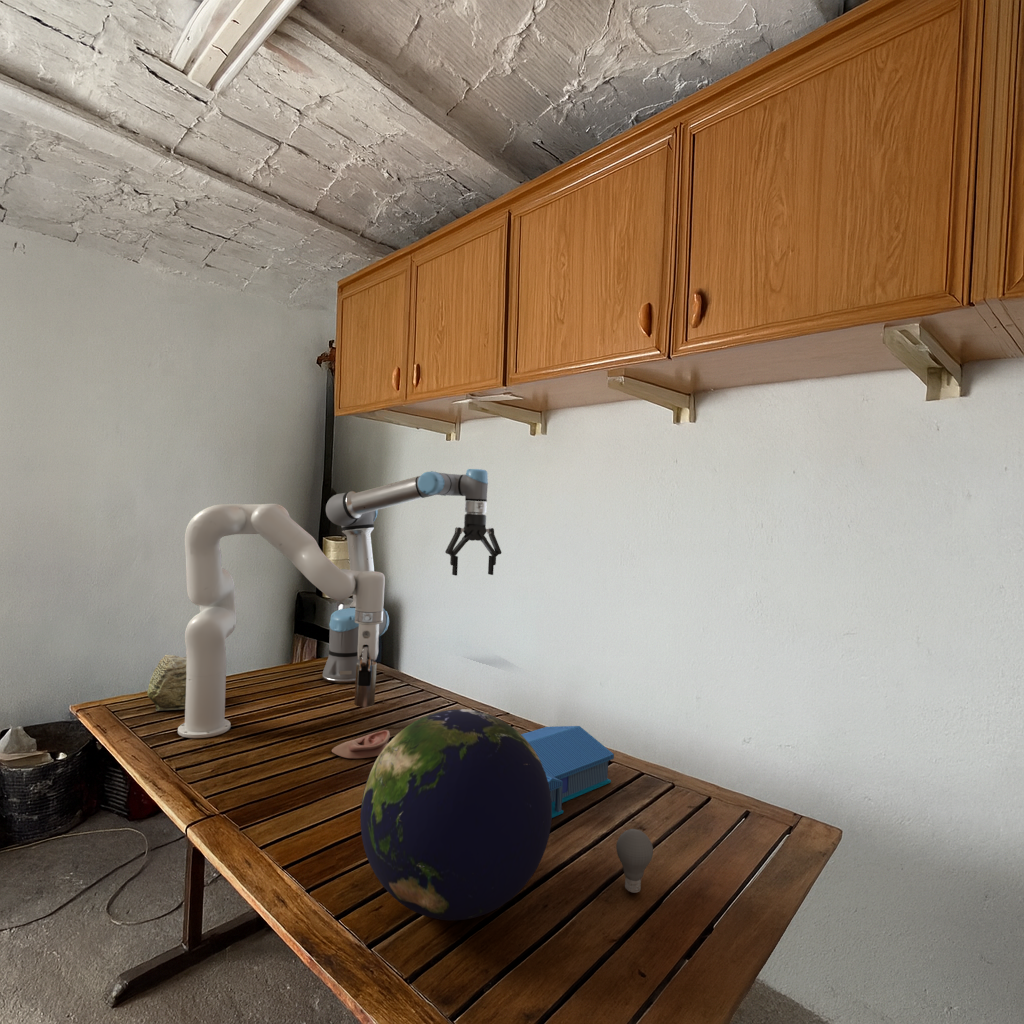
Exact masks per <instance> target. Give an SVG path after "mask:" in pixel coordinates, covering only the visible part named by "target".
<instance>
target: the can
mask: <svg viewBox="0 0 1024 1024" xmlns="http://www.w3.org/2000/svg"><path fill="white" fill-rule="evenodd" d="M367 663H368V662H367ZM377 664H378V663H377V662H376V661H371V665H370V671H371V682H370V686H359V685H358V677H359V670H360V661H359V662H357V664H356V682H355V683H354V685H355V686H354V702H353V703H354V705H355V706H356V707H360V708H367V707H372V706H374V705H375V702H376V701H375V699H376V682H377Z"/></svg>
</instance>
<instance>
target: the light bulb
mask: <svg viewBox="0 0 1024 1024" xmlns="http://www.w3.org/2000/svg"><path fill="white" fill-rule="evenodd" d="M615 849H616V854H617V857H618V859H619V861H620V863H621V865H622V867H623V873H624V874H623V875H624V876H625V878H624V888H625V890H627V891H628V892H630V893H634V894H635V893H639V892H640V891H641V889H642V887H641V886H642V879H643V877H644V875H645V871H646V868H647V867H648V866H649V864H650V863H651V861H652V859H653V855H654V847H653V843H652V841H651V838H649V836H648V835H647V834H646V833H645V832H643V831H642V830H641V829H636V828H629V829H627V830H625V831H623V832H622V833H621V834H620V835H619V837H618V839H617V841H616V847H615Z"/></svg>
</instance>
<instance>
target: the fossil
mask: <svg viewBox="0 0 1024 1024" xmlns="http://www.w3.org/2000/svg"><path fill="white" fill-rule="evenodd" d="M186 665H187V656H183V657H182V656H178V655H175V654H174V655H173V654H165V655H164V656H163V657H162V658H161V659H160V660H159V662H158V663H157V666H156V667H155V669H154V670H153V672H152V675H151V677H150V680H149V684H148V688H147V697H148V699H149V700H150V701H152V703H153V704H154V706H155V711H158V712H159V711H162V712H163V711H177V710H185V701H186Z"/></svg>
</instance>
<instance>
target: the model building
mask: <svg viewBox="0 0 1024 1024" xmlns="http://www.w3.org/2000/svg"><path fill="white" fill-rule="evenodd" d="M520 734H521V735H522V736H523V737H524V738H525V739H526V740H527V742H528V743H529V744H530V745H531V746H532V748H533V749H534V751H535V752H536V754H537V756H538V757H539V759H540V761H541V763H542V766H543V769H544V771H545V774H546V777H547V780H548V784H549V788H550V794H551V802H552V819H554V818H555V817H558V816H559V815H560V816H561V815H562V814H564V812H565V811H564V810H563V808H562V807H563V803H566V802H568V801H571V800H572V799H575V798H577V797H581V796H582V795H584V794H587V793H589V792H592V791H595V790H596V789H599V788H601V787H603V786H606V785H608V784H610V783H611V782H612V780H611V779H610V778H608V777H609V776H608V775H609V773H608V772H609V761H611V760H614V758H615V754H614V753H613V752H612V751H611V750H609V748H607V746H604V745H603V744H602V743H601V742H600V741H599V740H597V739H596V738H595V737H594V736H592V735H591V734H590V733H589V732H587V731H586V730H585V729H584V728H582V726H580V725H559V726H558V725H557V726H544V727H541V728H537V729H535V730H531V731H528V732H524V733H520Z"/></svg>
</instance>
